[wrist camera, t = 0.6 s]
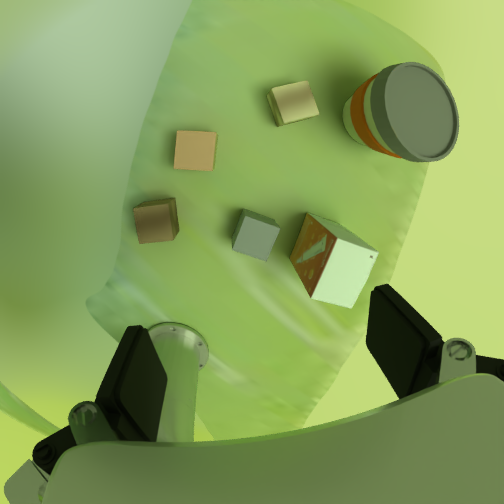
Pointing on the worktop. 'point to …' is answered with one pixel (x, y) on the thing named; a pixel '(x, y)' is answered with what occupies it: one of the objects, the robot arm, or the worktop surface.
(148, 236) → the walnut cube
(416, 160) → the reusable coffee cup
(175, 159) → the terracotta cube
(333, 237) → the small box
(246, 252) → the slate grey cube
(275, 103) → the pale oak cube
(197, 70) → the worktop surface
